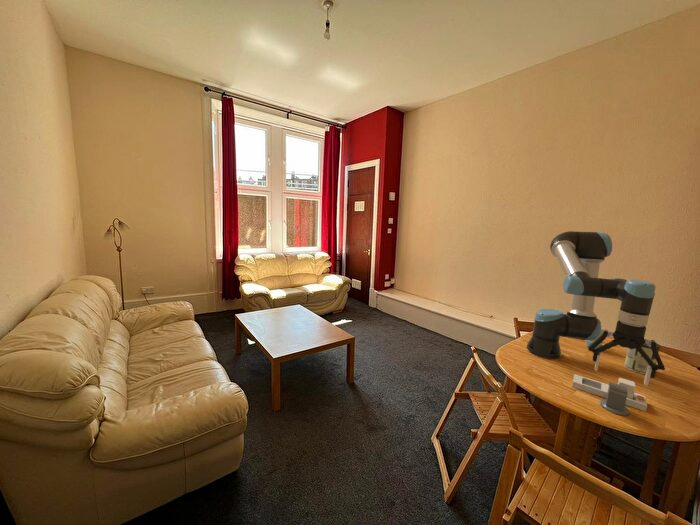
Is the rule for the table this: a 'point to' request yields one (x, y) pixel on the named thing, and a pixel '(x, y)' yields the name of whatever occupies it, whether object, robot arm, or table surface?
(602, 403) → the grey disc
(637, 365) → the coffee can
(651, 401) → the table surface
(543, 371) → the table surface
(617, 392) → the block
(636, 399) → the strip
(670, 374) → the table surface
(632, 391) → the white plug
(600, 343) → the beverage can
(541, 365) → the table surface
